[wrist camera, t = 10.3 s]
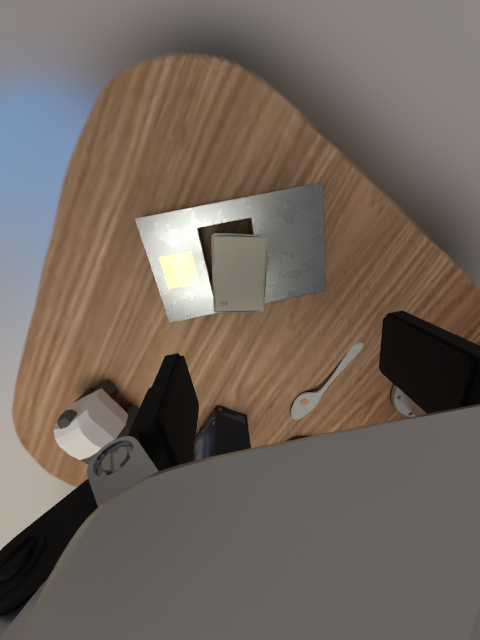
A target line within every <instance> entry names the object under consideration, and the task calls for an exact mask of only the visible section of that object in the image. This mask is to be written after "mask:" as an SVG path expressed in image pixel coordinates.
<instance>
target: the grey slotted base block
mask: <svg viewBox="0 0 480 640" xmlns="http://www.w3.org/2000/svg"><path fill="white" fill-rule="evenodd" d="M246 218H248V223H249V229H250V234H253V235H262V236H267V237H268V259H267V280H266V295H265V303H268V302H273V301H278V300H283V299H287V298H292V297H297V296H302V295H307V294H312V293H317V292H322V291H326V284H325V245H324V207H323V182H321V183H316V184H310V185H305V186H300V187H295V188H290V189H285V190H280V191H275V192H269V193H264V194H259V195H254V196H249V197H244V198H239V199H234V200H228V201H223V202H218V203H213V204H208V205H203V206H198V207H193V208H187V209H182V210H177V211H172V212H167V213H162V214H157V215H151V216H146V217H141V218H136V219H135V221H136V224H137V227H138V230H139V232H140V235H141V238H142V241H143V244H144V247H145V250H146V253H147V256H148V259H149V262H150V265H151V268H152V271H153V274H154V277H155V280H156V283H157V286H158V289H159V292H160V295H161V298H162V301H163V304H164V307H165V310H166V313H167V316H168V318H169V321H170V322H175V321H180V320H185V319H190V318H194V317H199V316H204V315H209V314H214V313H215V312H214V307H213V286H212V282H211V278H210V273H209V269H208V265H207V261H206V256H205V252H204V248H203V244H202V239H201V235H200V231H199V228H200V227H205V226H210V225H215V224H220V223H225V222H230V221H235V220H240V219H246Z"/></svg>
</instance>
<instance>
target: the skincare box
mask: <svg viewBox="0 0 480 640" xmlns="http://www.w3.org/2000/svg"><path fill="white" fill-rule="evenodd" d="M211 239H212V279H213V307H214V312H215V313H246V312H262V311H263V310H264V304H265V295H266V280H267V259H268V237H267V236H262V235H253V234H242V233H214V234H213V235H212V238H211Z"/></svg>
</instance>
